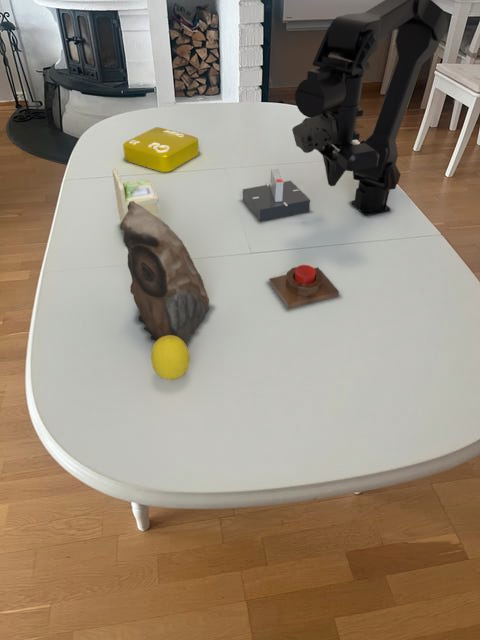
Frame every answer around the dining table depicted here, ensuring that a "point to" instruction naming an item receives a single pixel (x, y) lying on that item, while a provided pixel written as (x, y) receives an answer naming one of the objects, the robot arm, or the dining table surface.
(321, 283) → the button block
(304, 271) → the button
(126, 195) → the toy sink
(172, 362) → the lemon
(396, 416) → the dining table surface
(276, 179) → the white card in stand
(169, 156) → the element tile
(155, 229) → the owl
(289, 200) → the plate
